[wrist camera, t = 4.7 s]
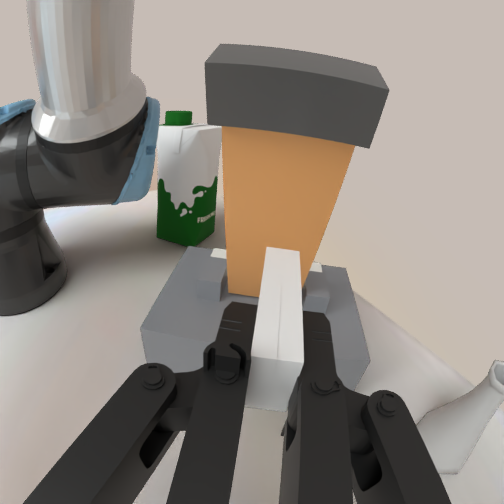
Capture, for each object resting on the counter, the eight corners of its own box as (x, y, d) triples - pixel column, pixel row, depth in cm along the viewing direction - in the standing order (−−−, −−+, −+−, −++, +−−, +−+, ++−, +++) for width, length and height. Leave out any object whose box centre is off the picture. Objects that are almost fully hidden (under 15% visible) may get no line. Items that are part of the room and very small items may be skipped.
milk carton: (178, 219, 55) (182, 109, 45) (222, 231, 52) (231, 113, 43) (148, 238, 48) (148, 112, 38) (195, 253, 45) (202, 115, 35)
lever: (301, 308, 26) (389, 90, 9) (221, 296, 26) (204, 62, 10) (303, 282, 27) (376, 66, 11) (227, 271, 28) (220, 43, 11)
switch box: (346, 403, 24) (379, 343, 20) (149, 374, 25) (136, 308, 21) (332, 309, 36) (350, 252, 33) (188, 288, 37) (188, 229, 33)
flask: (421, 404, 24) (473, 330, 19) (474, 428, 20) (533, 360, 15) (398, 461, 18) (466, 392, 14) (460, 485, 15) (537, 423, 10)
